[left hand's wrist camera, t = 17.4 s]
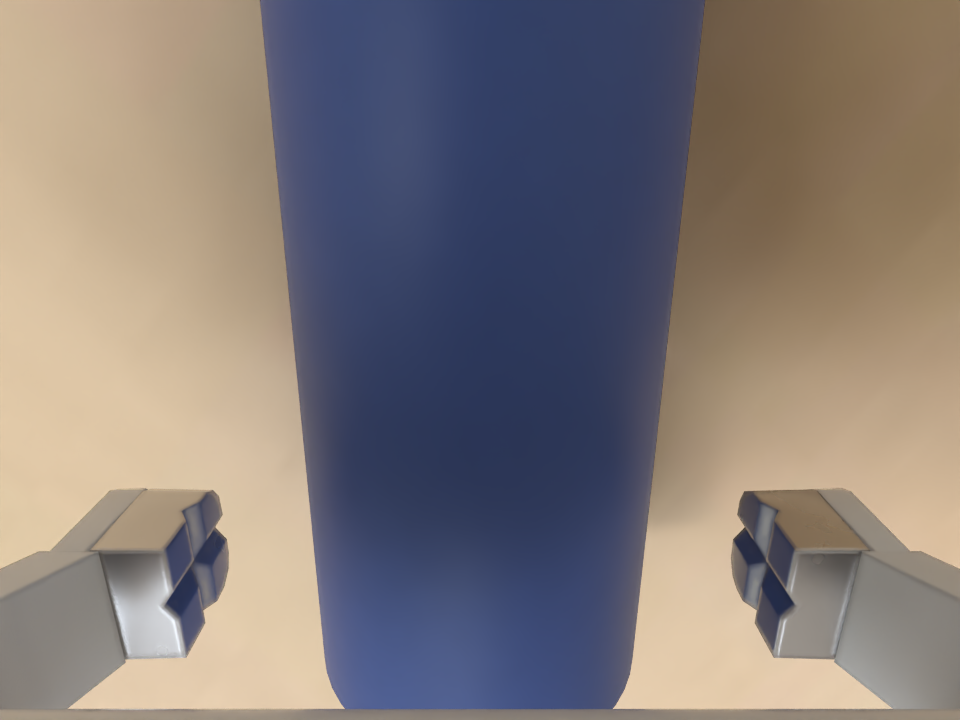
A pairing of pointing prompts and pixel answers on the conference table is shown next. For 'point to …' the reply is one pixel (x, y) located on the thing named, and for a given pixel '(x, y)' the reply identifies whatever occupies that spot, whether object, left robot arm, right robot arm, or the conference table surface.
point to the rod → (480, 330)
